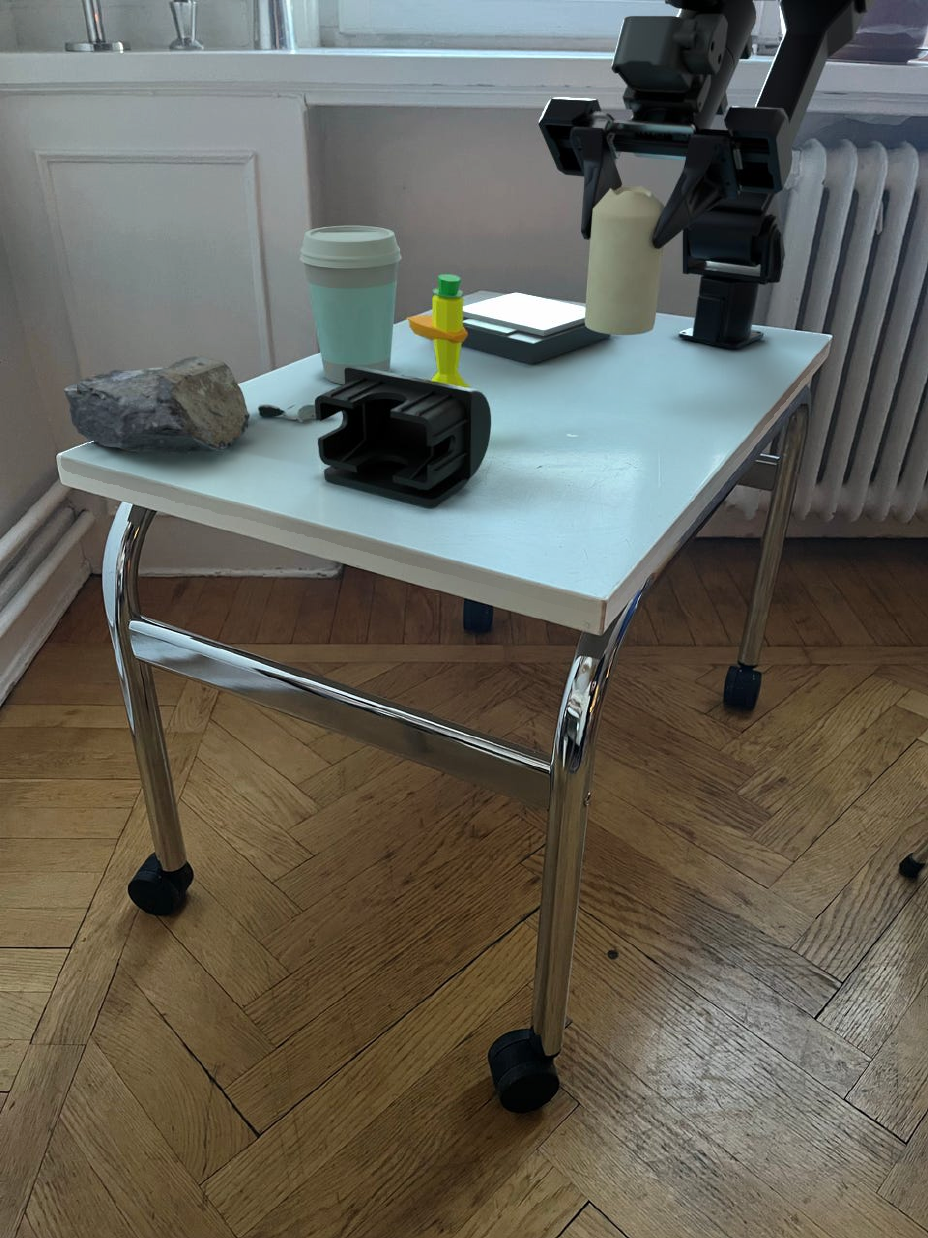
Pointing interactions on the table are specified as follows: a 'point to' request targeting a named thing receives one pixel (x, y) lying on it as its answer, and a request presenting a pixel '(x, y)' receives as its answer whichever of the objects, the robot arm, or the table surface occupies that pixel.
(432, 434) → the end cap
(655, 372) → the table surface
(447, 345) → the toy figure
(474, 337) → the scale
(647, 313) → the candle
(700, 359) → the table surface
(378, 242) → the coffee cup
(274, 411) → the toy
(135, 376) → the rock
